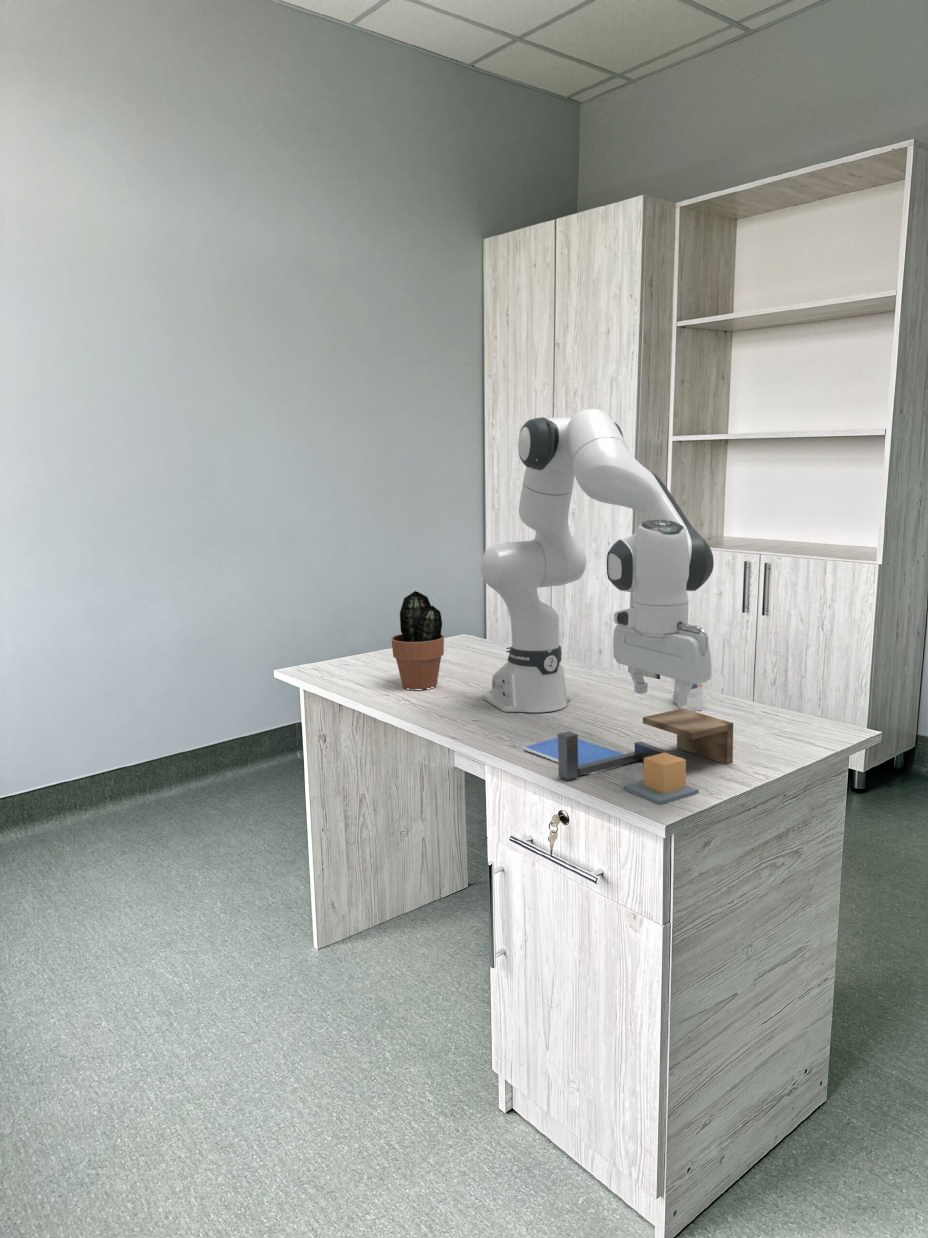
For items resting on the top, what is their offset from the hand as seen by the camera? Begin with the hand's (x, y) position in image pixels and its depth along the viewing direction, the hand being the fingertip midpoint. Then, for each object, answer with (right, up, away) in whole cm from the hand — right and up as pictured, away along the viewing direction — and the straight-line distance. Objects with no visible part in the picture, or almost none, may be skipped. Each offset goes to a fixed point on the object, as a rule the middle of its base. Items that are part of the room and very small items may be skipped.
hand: (659, 698), depth 153 cm
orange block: (+1, -16, +3) cm, 16 cm away
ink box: (+18, -7, +55) cm, 59 cm away
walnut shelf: (+9, -13, +19) cm, 25 cm away
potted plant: (-45, -4, +82) cm, 94 cm away
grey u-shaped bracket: (-5, -15, +11) cm, 19 cm away
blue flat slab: (-11, -14, +23) cm, 29 cm away
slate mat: (+1, -16, +3) cm, 16 cm away
